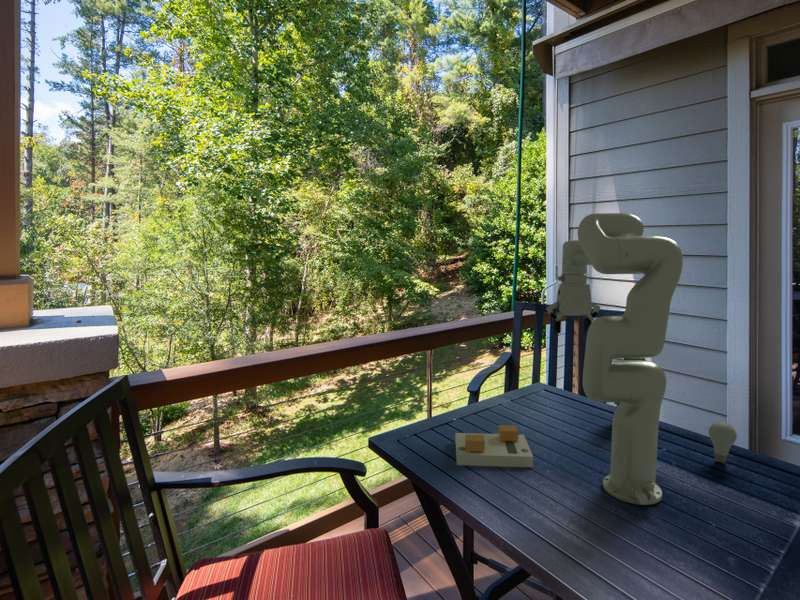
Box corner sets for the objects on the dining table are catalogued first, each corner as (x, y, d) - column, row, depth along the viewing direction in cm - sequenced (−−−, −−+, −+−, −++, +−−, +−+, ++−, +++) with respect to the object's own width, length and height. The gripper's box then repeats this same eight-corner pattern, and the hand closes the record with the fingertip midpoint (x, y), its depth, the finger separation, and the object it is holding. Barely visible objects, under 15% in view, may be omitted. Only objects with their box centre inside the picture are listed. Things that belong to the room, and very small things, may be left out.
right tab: (518, 441, 128) (518, 431, 128) (500, 441, 128) (500, 430, 128) (515, 435, 132) (516, 425, 132) (498, 435, 132) (498, 425, 132)
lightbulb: (722, 469, 117) (725, 428, 116) (700, 459, 123) (703, 420, 122) (740, 466, 119) (743, 426, 118) (718, 455, 125) (721, 417, 123)
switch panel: (533, 467, 120) (533, 456, 119) (456, 465, 122) (456, 454, 121) (523, 444, 134) (523, 434, 133) (455, 442, 135) (455, 432, 135)
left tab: (484, 451, 122) (484, 441, 122) (465, 451, 122) (465, 440, 122) (483, 445, 126) (483, 434, 126) (465, 444, 126) (465, 434, 126)
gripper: (551, 281, 141) (550, 335, 143) (606, 280, 142) (604, 333, 144) (543, 279, 149) (542, 330, 151) (595, 278, 149) (593, 329, 151)
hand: (572, 332), depth 147 cm, fingers open, 9 cm apart
